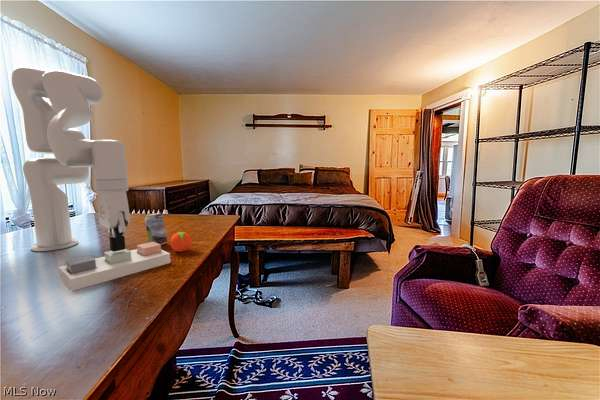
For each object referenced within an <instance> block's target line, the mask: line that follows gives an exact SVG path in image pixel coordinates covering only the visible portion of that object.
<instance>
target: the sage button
mask: <svg viewBox="0 0 600 400" xmlns="http://www.w3.org/2000/svg"><path fill="white" fill-rule="evenodd" d="M103 254H104V255H103V256H105V261H106V262H107V263H109V264H110V265H112V264H116V263H120V262H124V261H128V260H131V250H129V249H126V248H125V249H124V250H120V251H115V252H113V251H111V250H109V251H104V252H103Z"/></svg>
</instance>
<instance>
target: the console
mask: <svg viewBox="0 0 600 400" xmlns="http://www.w3.org/2000/svg"><path fill="white" fill-rule="evenodd" d="M130 251H131V260H128V261H124V262H120V263H116V264H112V265H110V264H109V263H107V262H106V261H105V255H103V256H100V257H95V258H94V259H95V263H96V269H92V270H88V271H84V272H80V273H76V274H72V275H70V274H69V273H68V272H67V267H66V264H65V265H60V266H58V267H57V268H58V274H59V275H58V276H59V278H60V280H61V279H62V280H63V281H62V280H61V281H62V282H63V283H64V284H65V286H67V287H68V288H69V290H70V291H71V290H72V292H73V291H77V290H81V289H84V288H88V287H91V286H95V285H99V284H101V283H104V282H108V281H111V280H116V279H119V278H122V277H125V276H129V275H134V274H136V273H139V272H143V271H146V270H149V269H153V268H157V267H160V266H163V265H167V264H171V252H168V251H165V250H163V249H161V252H160V253H156V254H152V255H148V256H142V255H140V254H138V253H137V248H135V249H131V250H130Z"/></svg>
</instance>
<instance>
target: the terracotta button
mask: <svg viewBox="0 0 600 400" xmlns="http://www.w3.org/2000/svg"><path fill="white" fill-rule="evenodd" d="M136 249H137V253H138V254H140V255H142V256H148V255H152V254H156V253H160V252H161V250H162V245H160V244H158V243H156V242H149V241H148V242H146V243H141V244H137V245H136Z"/></svg>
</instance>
